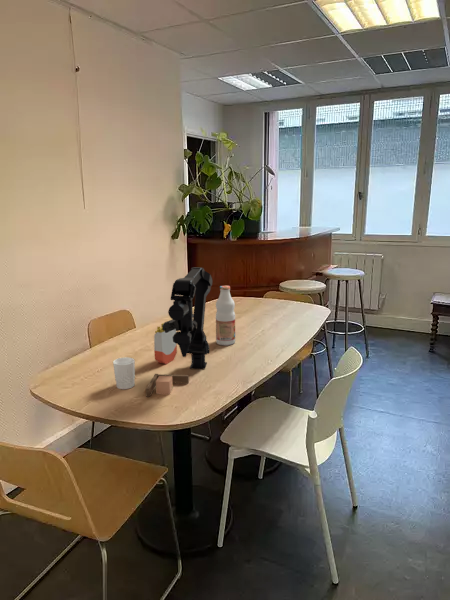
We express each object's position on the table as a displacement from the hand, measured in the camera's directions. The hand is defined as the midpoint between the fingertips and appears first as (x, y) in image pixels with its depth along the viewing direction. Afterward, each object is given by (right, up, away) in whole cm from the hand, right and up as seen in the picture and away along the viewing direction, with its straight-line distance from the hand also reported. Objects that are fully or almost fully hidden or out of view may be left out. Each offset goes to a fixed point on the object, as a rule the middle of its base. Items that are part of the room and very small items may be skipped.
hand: (186, 352), depth 168 cm
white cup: (-23, -13, 0) cm, 26 cm away
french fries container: (-11, -7, +24) cm, 27 cm away
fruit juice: (+15, -1, +47) cm, 50 cm away
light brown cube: (-8, -14, -5) cm, 16 cm away
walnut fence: (-6, -13, -3) cm, 15 cm away
